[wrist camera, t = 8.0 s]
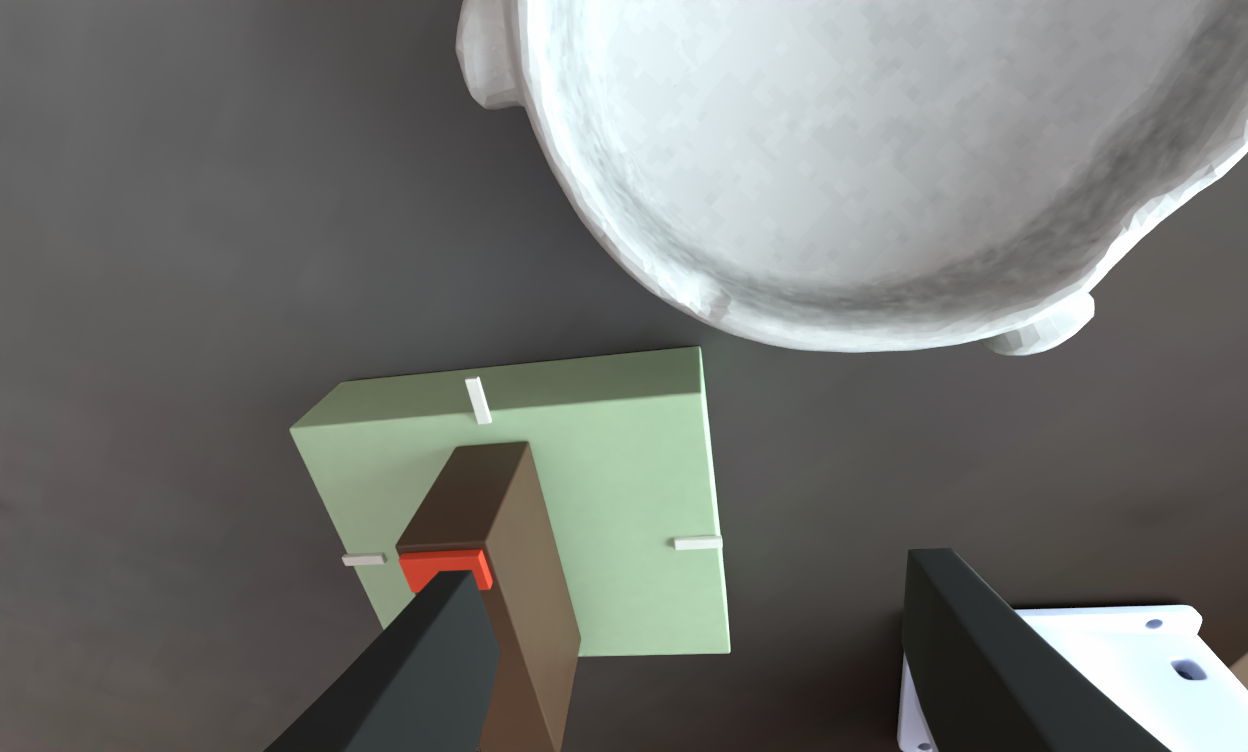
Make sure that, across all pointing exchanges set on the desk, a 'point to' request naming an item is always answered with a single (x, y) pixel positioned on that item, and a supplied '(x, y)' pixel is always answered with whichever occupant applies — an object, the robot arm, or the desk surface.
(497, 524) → the brown block
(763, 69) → the dish
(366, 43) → the desk surface
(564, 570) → the stand
